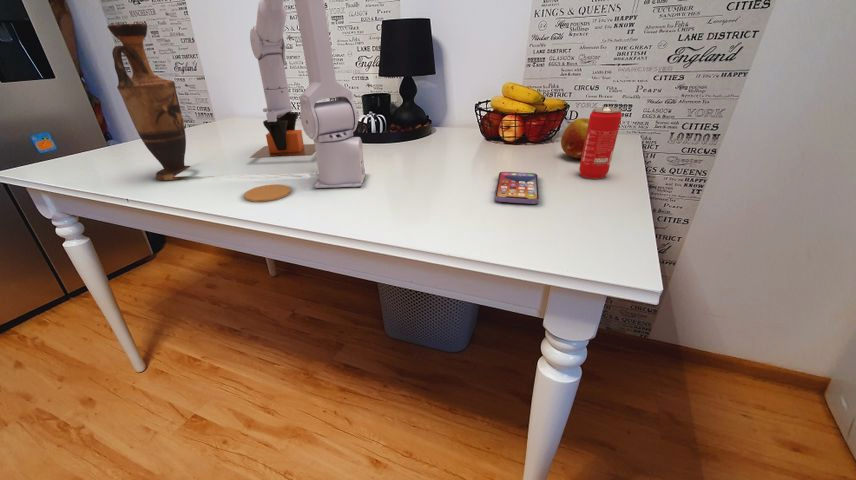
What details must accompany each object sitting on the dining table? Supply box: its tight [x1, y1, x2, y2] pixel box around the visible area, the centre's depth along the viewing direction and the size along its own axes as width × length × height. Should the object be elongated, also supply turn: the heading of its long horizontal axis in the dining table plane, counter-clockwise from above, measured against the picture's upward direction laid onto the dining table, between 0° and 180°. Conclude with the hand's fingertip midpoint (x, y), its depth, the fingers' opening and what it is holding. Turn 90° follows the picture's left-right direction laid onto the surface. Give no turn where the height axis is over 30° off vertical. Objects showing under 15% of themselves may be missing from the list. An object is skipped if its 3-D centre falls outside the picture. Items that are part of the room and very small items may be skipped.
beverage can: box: [579, 107, 623, 180], centre depth 75 cm, size 5×5×12 cm
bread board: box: [249, 143, 316, 159], centre depth 103 cm, size 16×12×2 cm
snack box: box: [265, 129, 305, 153], centre depth 102 cm, size 8×4×4 cm, turn 86°
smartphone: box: [494, 171, 540, 205], centre depth 73 cm, size 1×7×15 cm
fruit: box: [560, 117, 589, 159], centre depth 87 cm, size 10×9×8 cm
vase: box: [106, 23, 192, 181], centre depth 86 cm, size 11×11×30 cm
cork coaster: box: [243, 184, 292, 203], centre depth 79 cm, size 9×9×1 cm
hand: (286, 146), depth 103 cm, fingers open, 7 cm apart
